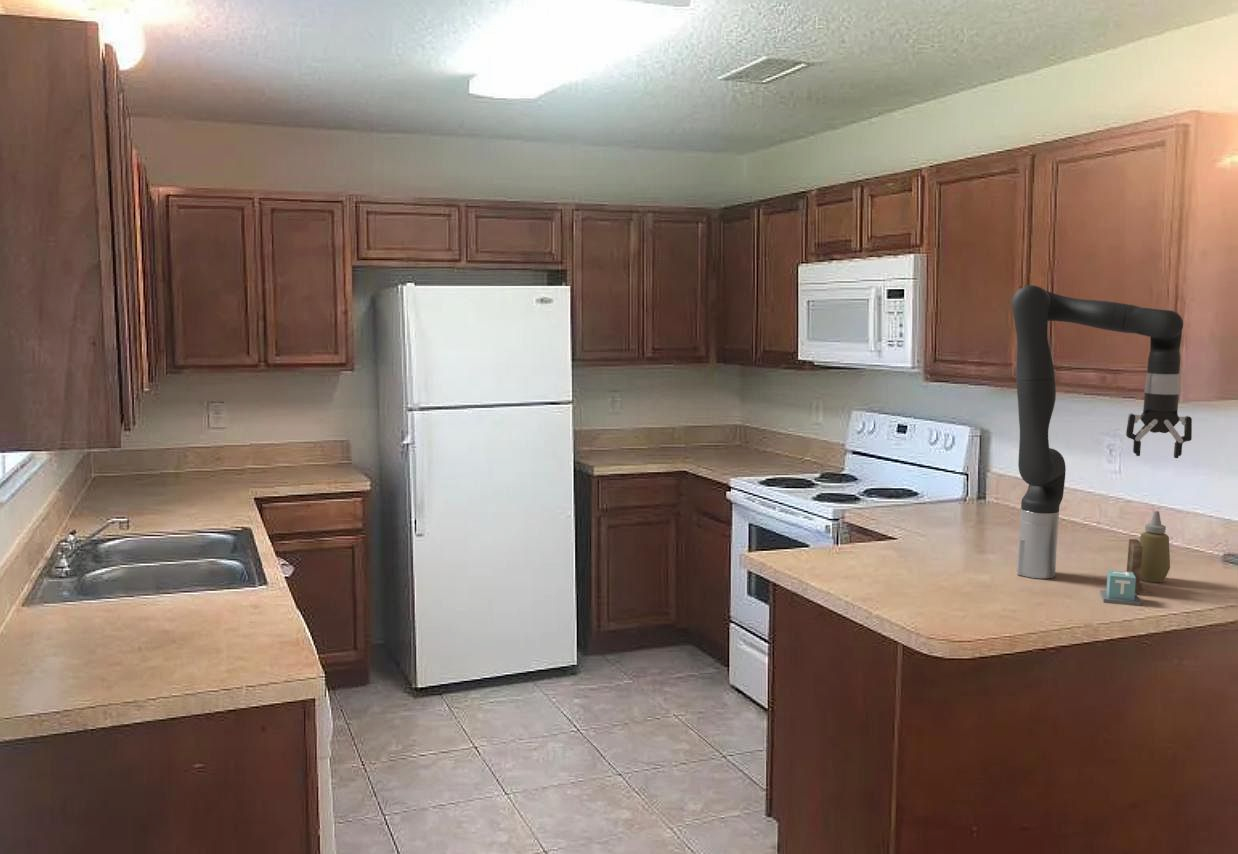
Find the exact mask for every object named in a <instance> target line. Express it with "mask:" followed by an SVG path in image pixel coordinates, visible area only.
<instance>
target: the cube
mask: <svg viewBox="0 0 1238 854" xmlns="http://www.w3.org/2000/svg"><path fill="white" fill-rule="evenodd" d="M1135 583H1136V577H1135V576H1134V574H1133V572H1127V571H1122V570H1111V569H1108V570H1107V575H1106V590H1105V591H1106V593H1107V595H1108V597H1109V598H1113V599H1123V600H1134V596H1135Z"/></svg>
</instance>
